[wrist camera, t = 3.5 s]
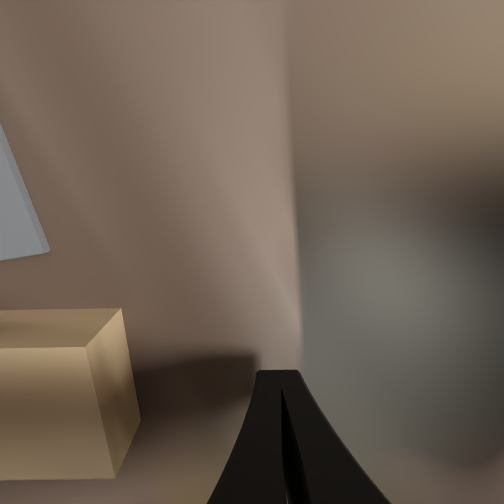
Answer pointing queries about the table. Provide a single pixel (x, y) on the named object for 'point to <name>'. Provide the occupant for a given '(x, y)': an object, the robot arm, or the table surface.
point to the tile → (65, 394)
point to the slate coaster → (17, 211)
